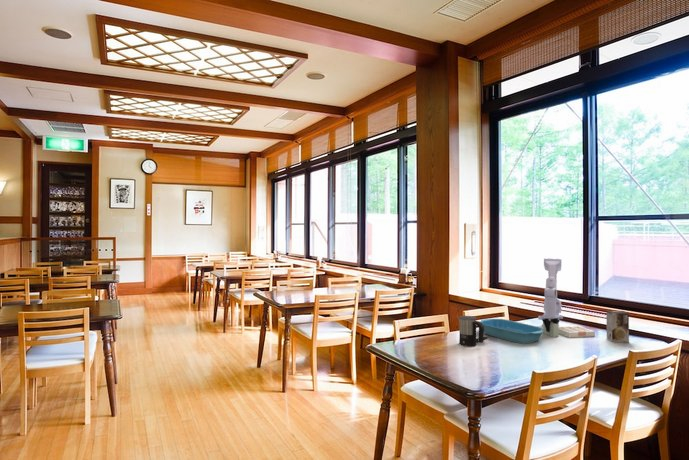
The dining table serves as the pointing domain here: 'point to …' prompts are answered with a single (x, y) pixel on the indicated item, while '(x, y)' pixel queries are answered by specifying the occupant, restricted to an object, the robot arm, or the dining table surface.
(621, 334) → the coffee box
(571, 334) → the slot rack
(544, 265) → the robot arm
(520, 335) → the casserole dish
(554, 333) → the blanking panel
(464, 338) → the milk frother
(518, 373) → the dining table surface
